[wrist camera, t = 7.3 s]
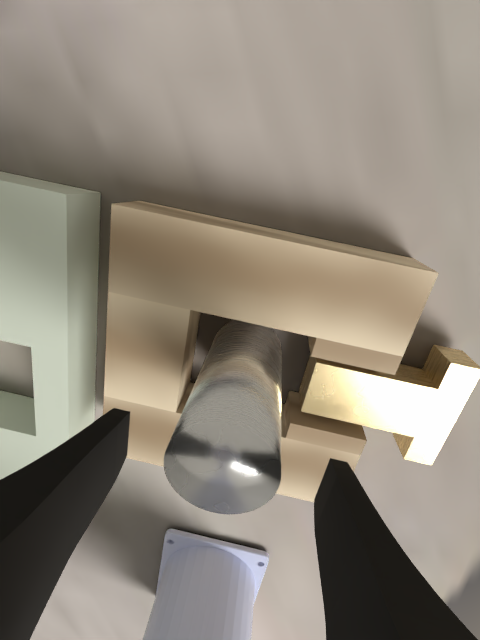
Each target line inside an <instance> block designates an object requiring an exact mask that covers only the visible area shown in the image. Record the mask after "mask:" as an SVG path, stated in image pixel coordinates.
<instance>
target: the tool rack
mask: <svg viewBox="0 0 480 640" xmlns="http://www.w3.org/2000/svg"><path fill="white" fill-rule="evenodd" d="M100 200H101V192H96V191H91V190H87V189H82V188H77V187H72V186H68V185H63V184H58V183H53V182H49V181H44V180H39V179H34V178H30V177H25V176H20V175H15V174H11V173H6V172H1V171H0V340H1V341H6V342H10V343H14V344H19V345H23V346H28V347H31V354H32V372H33V389H34V398H31V397H27V396H22V395H18V394H14V393H10V392H5V391H1V390H0V480H1V479H3V478H4V477H6V476H8V475H10V474H12V473H14V472H16V471H18V470H19V469H21V468H23V467H25V466H27V465H28V464H30V463H32V462H34V461H35V460H37V459H39V458H40V457H42V456H43V455H45V454H47V453H48V452H50V451H52V450H53V449H55V448H56V447H58V446H59V445H61V444H63V443H64V442H66V441H67V440H68V439H70V438H71V437H73V436H74V435H76V434H77V433H79V432H80V431H82V430H83V429H85V428H86V427H87V426H89V425H90V424H92V423H93V422H94V421H95V384H96V348H97V311H98V274H99V237H100Z"/></svg>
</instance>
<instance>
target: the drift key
mask: <svg viewBox="0 0 480 640" xmlns="http://www.w3.org/2000/svg"><path fill="white" fill-rule="evenodd" d="M479 377H480V367H479V366H478V365H477V364H476V363H475V362H474V361H473V360H472V359H471V358H470V357H469V356H467V355H466V354H465V353H464V352H463V351H461V350H456V349H452V348H447V347H443V346H438V345H433V347H432V349H431V352H430V354H429V356H428V358H427V360H426V362H425V365H424V367H423V369H421V368H416V367H412V366H407V365H403V364H399V367H398V369H397V371H396V374H395V375H392V374H387V373H383V372H378V371H374V370H370V369H365V368H361V367H356V366H352V365H347V364H343V363H338V362H334V361H329V360H325V359H320V358H316V357H311V354H310V356H309V360H308V363H307V366H306V369H305V373H304V376H303V379H302V382H301V386H300V389H299V394H300V406H301V412H306V413H310V414H315V415H319V416H323V417H328V418H332V419H336V420H341V421H345V422H350V423H354V424H358V425H363V426H367V427H371V428H376V429H380V430H385V431H389V432H393V436H394V438H395V440H396V442H397V445H398V447H399V449H400V452H401V454H402V456H403V458H404V459H406V460H411V461H415V462H419V463H424V464H428V465H432V464H433V462H434V460H435V458H436V456H437V454H438V453H439V451H440V449H441V447H442V445H443V443H444V442H445V440H446V438H447V436H448V434H449V432H450V431H451V429H452V427H453V425H454V423H455V421H456V420H457V418H458V416H459V414H460V412H461V410H462V409H463V407H464V405H465V403H466V401H467V399H468V397H469V396H470V394H471V392H472V390H473V388H474V386H475V385H476V383H477V381H478V379H479Z"/></svg>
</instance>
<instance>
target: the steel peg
mask: <svg viewBox="0 0 480 640" xmlns="http://www.w3.org/2000/svg"><path fill="white" fill-rule="evenodd" d="M281 386H282V349H281V343H280V340H279V338H278V336H277V334H276V333H275V332H274V331H273V330H272V329H271V328H270V327H266V326H261V325H257V324H252V323H248V322H243V321H239V320H233V321H231V322H229V323H227V324H225V325H224V326H223V327H222V328H221V329H220V330H219V331H218V333H217V334H216V336H215V338H214V341H213V343H212V345H211V348H210V350H209V352H208V354H207V357H206V359H205V361H204V364H203V366H202V368H201V370H200V373H199V375H198V377H197V380H196V382H195V384H194V387H193V389H192V391H191V393H190V396H189V398H188V400H187V403H186V405H185V407H184V409H183V412H182V414H181V416H180V419H179V421H178V423H177V425H176V428H175V430H174V432H173V435H172V437H171V439H170V442H169V444H168V446H167V449H166V451H165V455H164V470H165V474H166V476H167V479H168V481H169V482H170V484H171V486H172V487H173V488H174V490H175V491H176V492H177V493H178V494H179V495H180V496H181V497H183V498H184V499H185V500H186V501H188V502H190V503H191V504H193V505H195V506H197V507H199V508H201V509H204V510H207V511H210V512H215V513H220V514H240V513H245V512H249V511H252V510H255V509H257V508H259V507H261V506H263V505H264V504H266V503H267V502H268V501H269V500H271V498H272V497H273V496H274V495H275V493H276V492H277V490H278V488H279V485H280V481H281Z"/></svg>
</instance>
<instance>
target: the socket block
mask: <svg viewBox="0 0 480 640" xmlns="http://www.w3.org/2000/svg"><path fill="white" fill-rule="evenodd" d="M438 274H439V273H438V272H436V271H434V270H433V269H431V268H429V267H427V266H426V265H424V264H422V263H420V262H419V261H417V260H415V259H413V258H410V257H405V256H400V255H395V254H391V253H386V252H381V251H376V250H372V249H367V248H362V247H357V246H353V245H348V244H343V243H338V242H334V241H329V240H324V239H319V238H315V237H310V236H305V235H300V234H296V233H291V232H286V231H281V230H277V229H272V228H267V227H262V226H258V225H253V224H248V223H243V222H239V221H234V220H229V219H224V218H220V217H215V216H210V215H205V214H201V213H196V212H191V211H186V210H182V209H177V208H172V207H167V206H163V205H158V204H153V203H148V202H144V201H139V200H138V201H130V202H122V203H114V204H111V226H110V252H109V277H108V303H107V328H106V354H105V380H104V405H103V415H104V414H106V413H107V412H108V411H110V410H111V409H113V408H117V409H121V410H125V411H130V424H129V438H128V451H127V457H126V458H129V459H134V460H138V461H142V462H146V463H151V464H155V465H159V466H163V467H164V455H165V451H166V449H167V446H168V444H169V442H170V439H171V437H172V435H173V432H174V430H175V428H176V425H177V423H178V421H179V419H180V416H181V414H182V412H183V409H184V407H185V405H186V403H187V400H188V398H189V396H190V393H191V391H192V389H193V387H194V384H195V383H191V382H190V378H191V371H192V365H193V359H194V352H195V346H196V339H197V333H198V326H199V320H200V313H201V312H202V313H207V314H211V315H216V316H220V317H225V318H229V319H234V320H239V321H243V322H248V323H252V324H257V325H261V326H266V327H270V328H275V329H279V330H284V331H288V332H293V333H297V334H302V335H307V336H308V342H309V348H310V354H311V357H316V358H320V359H325V360H329V361H334V362H338V363H343V364H347V365H352V366H356V367H361V368H365V369H370V370H374V371H378V372H383V373H387V374H392V375H395V374H396V371H397V369H398V367H399V364H400V362H401V360H402V357H403V355H404V353H405V350H406V348H407V346H408V343H409V341H410V339H411V336H412V334H413V332H414V329H415V327H416V325H417V322H418V320H419V318H420V315H421V313H422V311H423V308H424V306H425V304H426V301H427V299H428V297H429V295H430V292H431V290H432V288H433V285H434V283H435V281H436V278H437V276H438ZM366 441H367V440H366V437H365V434H364V431H363V428H362V425H358V424H354V423H350V422H345V421H341V420H336V419H332V418H328V417H323V416H319V415H315V414H310V413H306V412H301V406H300V394H299V393H298V392H293V391H289V393H288V397H287V400H286V404H283V403H281V481H280V485H279V488H278V490H277V492H276V493H277V494H281V495H285V496H290V497H294V498H298V499H302V500H306V501H311V502H314V499H315V496H316V494H317V491H318V488H319V486H320V483H321V481H322V478H323V476H324V473H325V470H326V468H327V465H328V463H329V460H330V458H332V459H336V460H341V461H345V462H348V464H349V465H350V467H351V469H352V470H353V472H354V469H355V467H356V465H357V462H358V460H359V458H360V455H361V453H362V451H363V448H364V446H365V444H366Z"/></svg>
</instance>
